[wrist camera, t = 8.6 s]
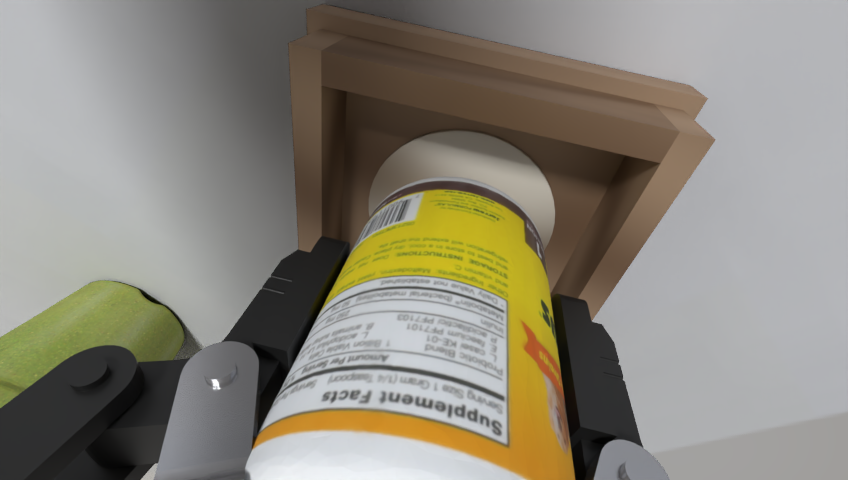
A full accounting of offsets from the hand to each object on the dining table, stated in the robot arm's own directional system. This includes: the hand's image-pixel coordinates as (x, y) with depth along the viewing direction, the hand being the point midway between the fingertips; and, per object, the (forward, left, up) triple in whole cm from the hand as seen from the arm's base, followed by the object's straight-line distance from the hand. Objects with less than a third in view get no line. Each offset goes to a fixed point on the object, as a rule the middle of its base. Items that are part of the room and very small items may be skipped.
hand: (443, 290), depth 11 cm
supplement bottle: (0, 0, -2) cm, 2 cm away
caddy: (+5, 0, -5) cm, 7 cm away
